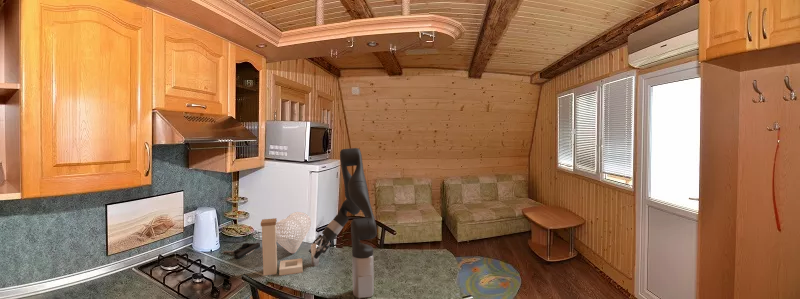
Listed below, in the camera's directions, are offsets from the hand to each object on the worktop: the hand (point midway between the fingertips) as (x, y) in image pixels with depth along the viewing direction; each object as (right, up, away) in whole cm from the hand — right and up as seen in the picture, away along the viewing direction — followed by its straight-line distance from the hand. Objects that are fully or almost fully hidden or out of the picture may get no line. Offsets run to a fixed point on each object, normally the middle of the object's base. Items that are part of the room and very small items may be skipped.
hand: (312, 255), depth 168 cm
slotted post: (-13, -6, -6) cm, 16 cm away
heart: (-16, -5, +17) cm, 24 cm away
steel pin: (+1, -5, +1) cm, 6 cm away
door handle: (-48, -5, +20) cm, 52 cm away
